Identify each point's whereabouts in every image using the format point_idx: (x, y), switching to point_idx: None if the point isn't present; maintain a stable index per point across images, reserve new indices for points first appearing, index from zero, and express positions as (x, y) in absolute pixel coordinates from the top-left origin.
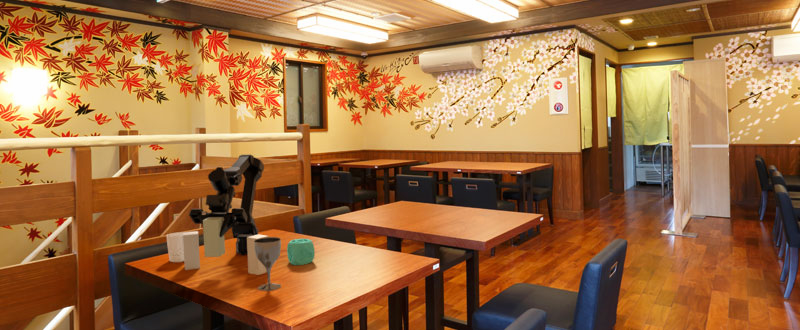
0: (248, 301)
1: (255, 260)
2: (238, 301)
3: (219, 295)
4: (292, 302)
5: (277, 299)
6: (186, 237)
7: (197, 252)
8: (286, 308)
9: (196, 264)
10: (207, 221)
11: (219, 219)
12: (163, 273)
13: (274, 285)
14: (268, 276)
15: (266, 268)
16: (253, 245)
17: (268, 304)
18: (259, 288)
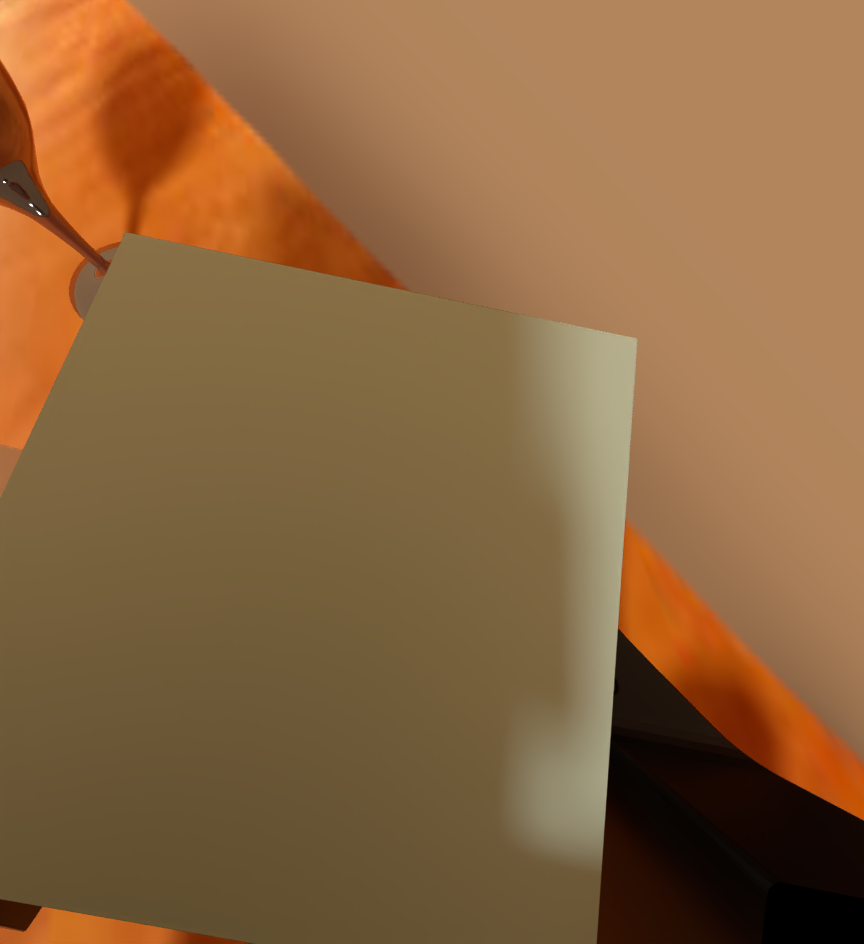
0: (214, 153)
1: None
2: (251, 161)
3: (330, 236)
4: (53, 108)
5: (104, 146)
6: None
7: None
8: (83, 66)
9: None
10: (473, 335)
11: (70, 388)
12: (693, 631)
13: (93, 271)
14: (79, 235)
15: (43, 189)
16: (2, 471)
17: (142, 111)
18: None
